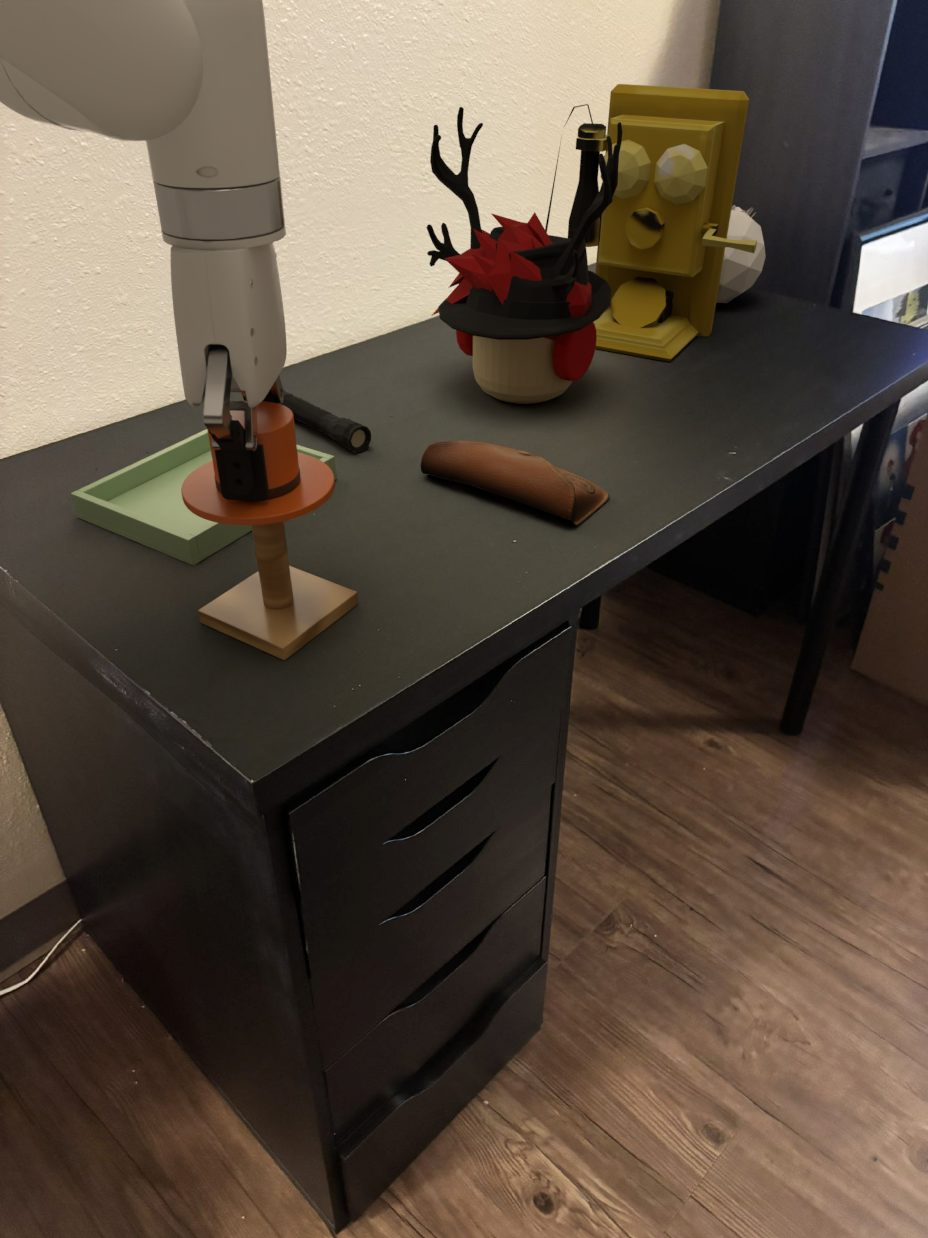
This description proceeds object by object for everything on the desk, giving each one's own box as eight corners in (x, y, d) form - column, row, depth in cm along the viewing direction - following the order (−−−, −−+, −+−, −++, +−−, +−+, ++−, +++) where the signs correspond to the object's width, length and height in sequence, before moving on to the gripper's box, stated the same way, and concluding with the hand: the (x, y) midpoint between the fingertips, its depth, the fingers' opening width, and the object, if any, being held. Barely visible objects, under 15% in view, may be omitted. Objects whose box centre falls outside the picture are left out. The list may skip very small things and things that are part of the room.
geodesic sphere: (741, 242, 148) (710, 169, 138) (804, 263, 137) (775, 186, 128) (674, 308, 149) (638, 241, 139) (732, 334, 138) (697, 263, 129)
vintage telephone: (504, 332, 129) (510, 90, 112) (545, 306, 139) (557, 79, 122) (720, 372, 117) (766, 106, 100) (749, 340, 127) (795, 93, 109)
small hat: (263, 541, 61) (252, 465, 57) (149, 498, 65) (134, 425, 62) (365, 479, 68) (360, 408, 65) (256, 445, 73) (247, 377, 70)
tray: (193, 565, 79) (188, 540, 78) (77, 517, 86) (70, 493, 85) (336, 479, 93) (334, 455, 91) (226, 443, 100) (222, 421, 98)
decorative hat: (644, 387, 113) (677, 112, 95) (555, 446, 99) (575, 138, 81) (493, 349, 124) (498, 96, 106) (394, 398, 110) (380, 117, 92)
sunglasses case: (615, 491, 90) (604, 449, 84) (582, 548, 88) (569, 510, 82) (466, 445, 98) (447, 405, 92) (433, 497, 96) (411, 459, 90)
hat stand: (284, 661, 69) (266, 534, 62) (199, 622, 73) (174, 500, 66) (358, 603, 75) (349, 483, 68) (276, 571, 79) (260, 454, 72)
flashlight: (350, 456, 97) (348, 430, 95) (263, 411, 107) (260, 387, 105) (372, 448, 99) (370, 422, 97) (284, 404, 108) (281, 380, 106)
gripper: (201, 183, 63) (237, 426, 73) (109, 243, 49) (169, 534, 59) (309, 185, 63) (329, 429, 73) (247, 246, 49) (283, 538, 59)
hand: (257, 473), depth 66 cm, fingers closed on small hat, 6 cm apart
